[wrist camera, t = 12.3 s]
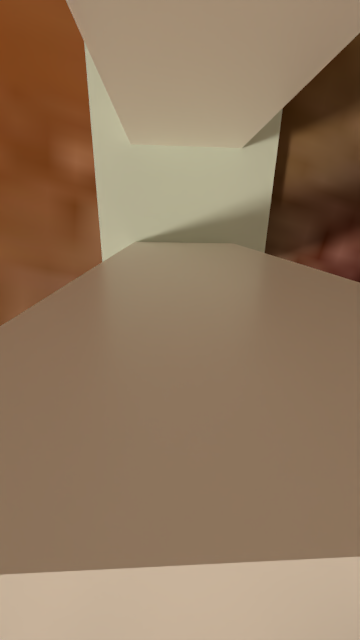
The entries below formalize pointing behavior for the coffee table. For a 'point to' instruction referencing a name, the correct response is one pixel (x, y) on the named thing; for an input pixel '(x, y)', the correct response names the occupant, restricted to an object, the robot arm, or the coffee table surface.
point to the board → (178, 184)
